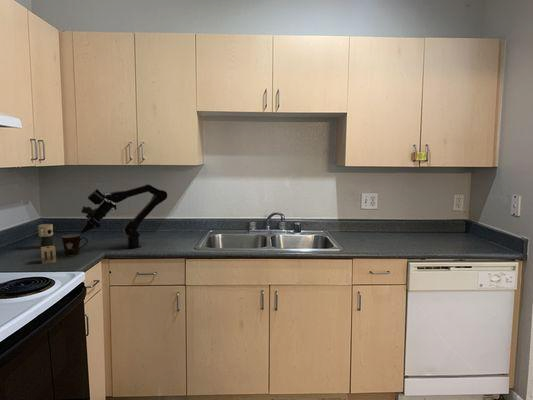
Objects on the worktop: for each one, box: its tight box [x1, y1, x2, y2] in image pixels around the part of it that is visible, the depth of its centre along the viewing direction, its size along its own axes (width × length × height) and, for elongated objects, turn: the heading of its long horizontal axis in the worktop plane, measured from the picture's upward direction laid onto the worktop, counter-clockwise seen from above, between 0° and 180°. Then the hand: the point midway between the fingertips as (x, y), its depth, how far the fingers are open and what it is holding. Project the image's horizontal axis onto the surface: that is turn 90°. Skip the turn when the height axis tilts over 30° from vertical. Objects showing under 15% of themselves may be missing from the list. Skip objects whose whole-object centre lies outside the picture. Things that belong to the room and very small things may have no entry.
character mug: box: [37, 223, 54, 248], centre depth 217 cm, size 11×7×13 cm, turn 3°
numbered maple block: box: [40, 245, 57, 265], centre depth 188 cm, size 6×6×7 cm
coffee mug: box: [61, 233, 89, 256], centre depth 201 cm, size 12×9×10 cm
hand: (81, 232), depth 202 cm, fingers closed
